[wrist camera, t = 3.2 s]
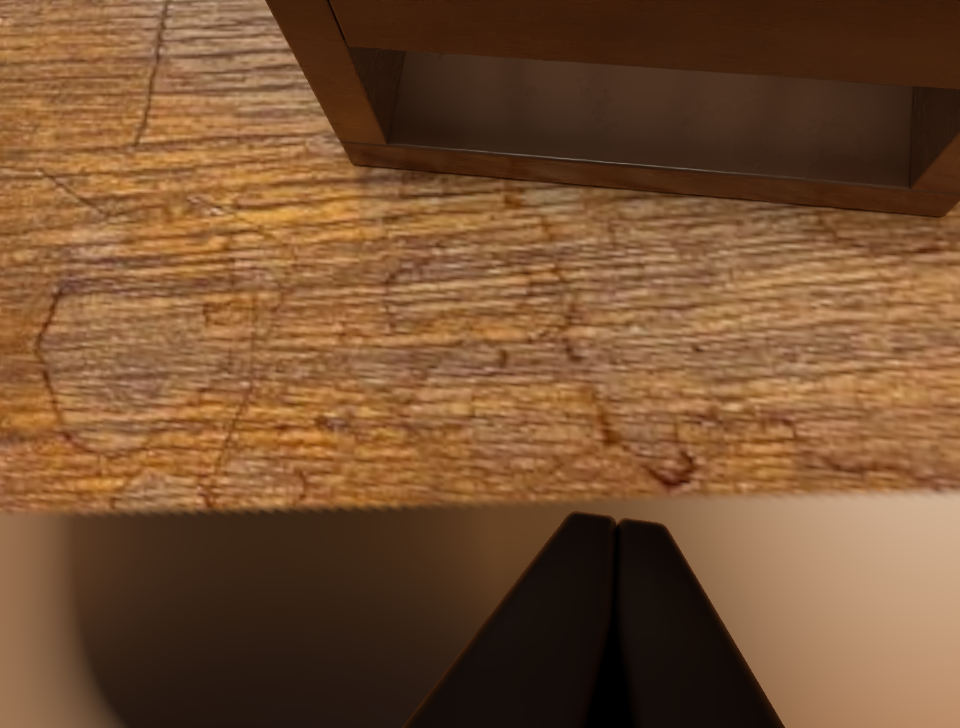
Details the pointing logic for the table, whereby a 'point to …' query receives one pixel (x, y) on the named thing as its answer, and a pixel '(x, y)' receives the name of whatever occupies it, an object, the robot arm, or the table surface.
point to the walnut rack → (649, 93)
